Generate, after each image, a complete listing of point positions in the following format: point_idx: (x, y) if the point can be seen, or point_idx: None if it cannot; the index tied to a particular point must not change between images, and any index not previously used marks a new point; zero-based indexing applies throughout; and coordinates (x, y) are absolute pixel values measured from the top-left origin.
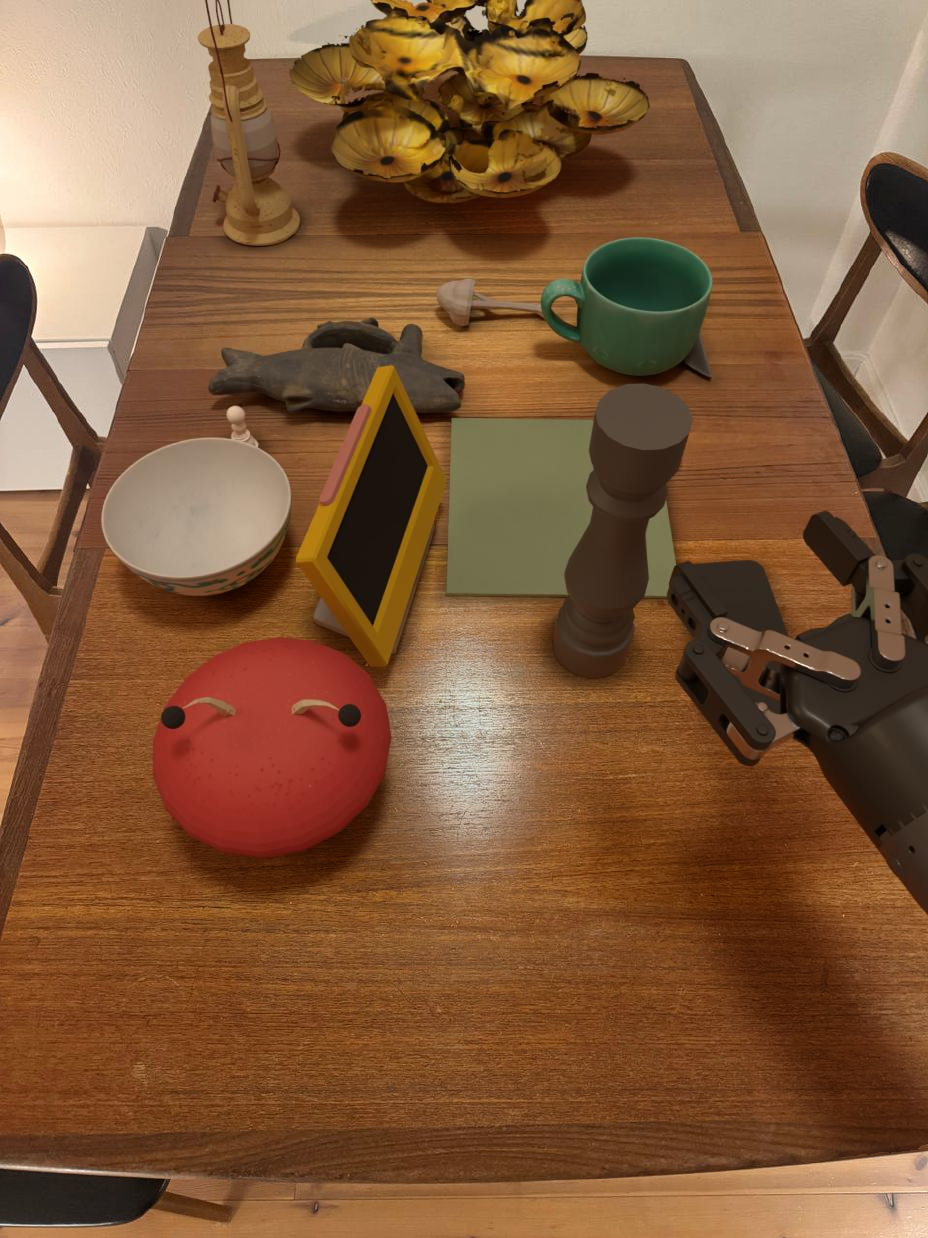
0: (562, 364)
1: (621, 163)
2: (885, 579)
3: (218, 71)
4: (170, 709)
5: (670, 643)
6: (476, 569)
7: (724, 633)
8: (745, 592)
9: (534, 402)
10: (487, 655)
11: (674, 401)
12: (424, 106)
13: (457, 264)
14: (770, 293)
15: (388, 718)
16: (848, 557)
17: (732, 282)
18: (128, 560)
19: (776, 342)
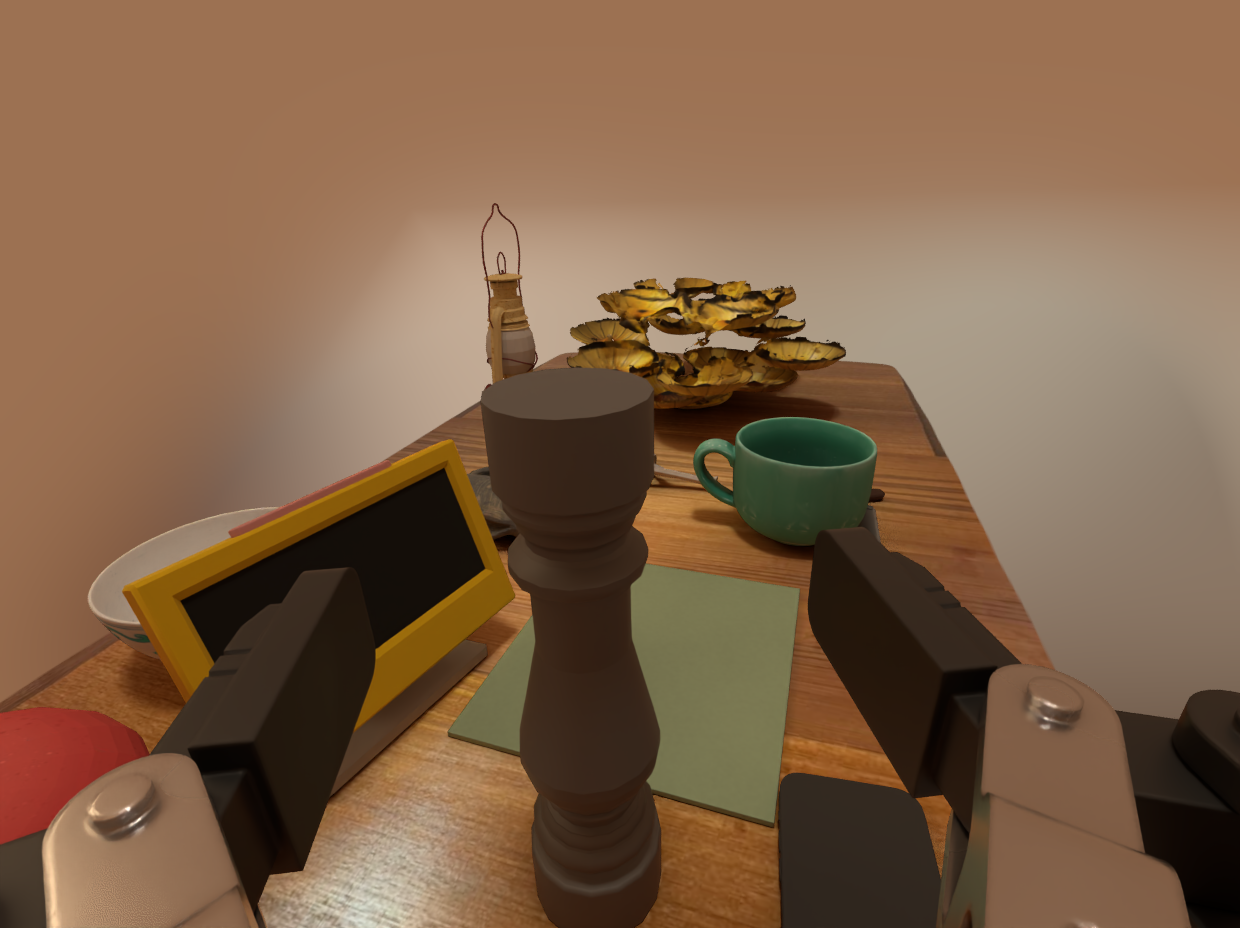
0: (716, 527)
1: (828, 408)
2: (1078, 775)
3: (494, 299)
4: None
5: (734, 907)
6: (503, 710)
7: (87, 840)
8: (884, 844)
9: (672, 553)
10: (442, 841)
11: (635, 383)
12: (670, 361)
13: (654, 450)
14: (965, 501)
15: None
16: (910, 662)
17: (921, 488)
18: (122, 603)
19: (969, 541)
